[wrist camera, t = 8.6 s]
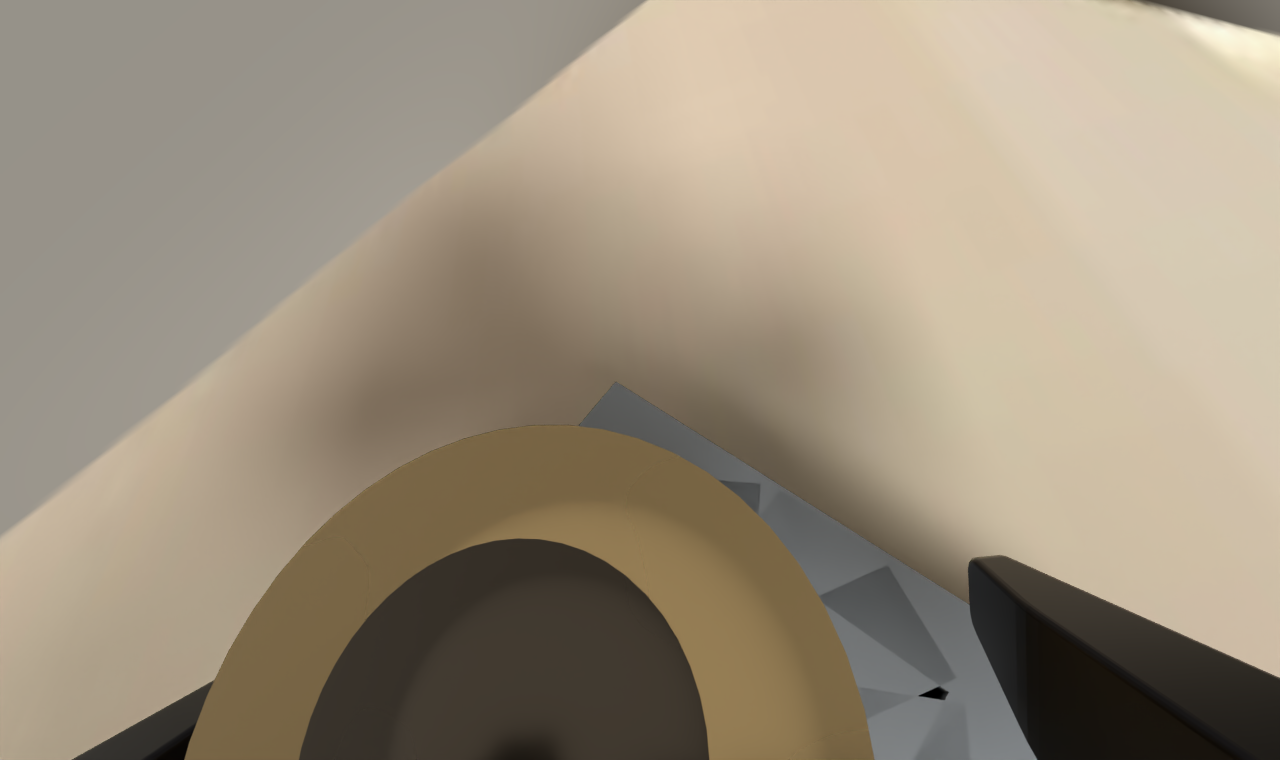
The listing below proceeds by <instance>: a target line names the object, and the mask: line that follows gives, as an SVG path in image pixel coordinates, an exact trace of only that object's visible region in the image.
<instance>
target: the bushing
mask: <svg viewBox="0 0 1280 760" xmlns="http://www.w3.org/2000/svg"><path fill="white" fill-rule="evenodd" d="M184 760H875V759H874V754H873V749H872V744H871V739H870V734H869V729H868V724H867V719H866V714H865V709H864V706H863V703H862V700H861V697H860V694H859V691H858V688H857V685H856V682H855V679H854V675H853V672H852V669H851V666H850V663H849V660H848V657H847V654H846V652H845V650H844V647H843V645H842V643H841V641H840V639H839V636H838V634H837V632H836V630H835V628H834V626H833V623H832V621H831V619H830V617H829V615H828V612H827V610H826V608H825V606H824V604H823V602H822V601H821V599H820V598H819V596H818V594H817V593H816V591H815V589H814V588H813V586H812V584H811V583H810V581H809V579H808V578H807V576H806V575H805V573H804V571H803V570H802V568H801V566H800V565H799V563H798V562H797V561H796V559H795V558H794V557H793V555H792V554H791V553H790V552H789V550H788V549H787V548H786V547H785V545H784V544H783V543H782V541H781V540H780V539H779V538H778V536H777V535H776V534H775V533H774V531H773V530H772V529H771V528H770V526H769V525H768V524H767V523H766V522H765V521H764V520H763V519H762V518H760V517H759V516H758V515H757V514H756V513H755V512H754V511H753V510H752V509H751V508H750V507H749V506H748V505H747V504H746V503H745V502H744V501H743V500H742V499H741V498H740V497H739V496H738V495H737V494H735V493H734V492H733V491H731V490H730V489H729V488H727V487H726V486H725V485H723V484H722V483H721V482H719V481H718V480H717V479H716V478H714V477H713V476H712V475H710V474H709V473H708V472H706V471H705V470H703V469H701V468H699V467H698V466H696V465H694V464H692V463H691V462H689V461H687V460H685V459H684V458H682V457H680V456H678V455H677V454H675V453H673V452H671V451H668V450H666V449H663V448H661V447H658V446H656V445H653V444H651V443H649V442H646V441H644V440H641V439H639V438H635V437H631V436H627V435H624V434H620V433H616V432H612V431H608V430H604V429H597V428H589V427H581V426H573V425H531V426H524V427H516V428H508V429H500V430H496V431H492V432H488V433H484V434H480V435H476V436H472V437H468V438H465V439H462V440H459V441H457V442H454V443H451V444H449V445H446V446H444V447H441V448H438V449H436V450H433V451H431V452H429V453H427V454H425V455H423V456H421V457H419V458H417V459H415V460H413V461H411V462H409V463H407V464H405V465H403V466H401V467H399V468H398V469H396V470H395V471H393V472H391V473H390V474H388V475H387V476H385V477H384V478H382V479H381V480H379V481H378V482H376V483H374V484H373V485H371V486H370V487H368V488H367V489H366V490H364V491H363V492H362V493H361V494H359V495H358V496H357V497H356V498H354V499H353V500H352V501H351V502H349V503H348V504H347V505H346V506H344V507H343V508H342V509H341V510H339V511H338V512H337V513H336V514H335V515H334V516H333V517H332V518H330V519H329V520H328V521H327V522H326V523H325V524H324V525H323V526H322V527H321V528H320V529H319V530H318V531H317V532H316V533H315V534H314V535H313V536H312V537H311V538H310V539H309V540H308V541H307V542H306V543H305V544H304V545H303V546H302V548H301V549H300V550H299V551H298V552H297V553H296V555H295V556H294V557H293V558H292V559H291V560H290V562H289V563H288V564H287V565H286V566H285V567H284V568H283V570H282V571H281V572H280V573H279V574H278V576H277V577H276V579H275V580H274V581H273V583H272V584H271V586H270V587H269V588H268V590H267V591H266V593H265V594H264V595H263V597H262V598H261V600H260V601H259V602H258V604H257V605H256V606H255V608H254V609H253V611H252V612H251V614H250V616H249V617H248V619H247V621H246V623H245V624H244V626H243V628H242V629H241V631H240V633H239V634H238V636H237V638H236V639H235V641H234V643H233V644H232V646H231V648H230V650H229V651H228V653H227V655H226V658H225V660H224V662H223V664H222V666H221V668H220V670H219V672H218V674H217V676H216V678H215V680H214V682H213V685H212V687H211V689H210V691H209V693H208V695H207V697H206V700H205V703H204V705H203V708H202V711H201V713H200V716H199V718H198V721H197V724H196V726H195V729H194V732H193V734H192V737H191V739H190V742H189V745H188V749H187V752H186V756H185V759H184Z"/></svg>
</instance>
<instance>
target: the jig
mask: <svg viewBox="0 0 1280 760" xmlns="http://www.w3.org/2000/svg"><path fill="white" fill-rule="evenodd" d="M579 426H581V427H589V428H597V429H604V430H608V431H612V432H616V433H620V434H624V435H627V436H631V437H635V438H639V439H641V440H644V441H646V442H649V443H651V444H653V445H656V446H658V447H661V448H663V449H666V450H668V451H671V452H673V453H675V454H677V455H678V456H680V457H682V458H684V459H685V460H687V461H689V462H691V463H692V464H694V465H696V466H698V467H699V468H701V469H703V470H705V471H706V472H708V473H709V474H710V475H712V476H713V477H714V478H716V479H717V480H718V481H719V482H721V483H722V484H723V485H725V486H726V487H727V488H729V489H730V490H731V491H733V492H734V493H735V494H737V495H738V496H739V497H740V498H741V499H742V500H743V501H744V502H745V503H746V504H747V505H748V506H749V507H750V508H751V509H752V510H753V511H754V512H755V513H756V514H757V515H758V516H759V517H760V518H762V519H763V520H764V521H765V522H766V523H767V524H768V525H769V526H770V528H771V529H772V530H773V531H774V533H775V534H776V535H777V536H778V538H779V539H780V540H781V541H782V543H783V544H784V545H785V547H786V548H787V549H788V550H789V552H790V553H791V554H792V555H793V557H794V558H795V559H796V561H797V562H798V563H799V565H800V566H801V568H802V570H803V571H804V573H805V575H806V576H807V578H808V579H809V581H810V583H811V584H812V586H813V588H814V589H815V591H816V593H817V594H818V596H819V598H820V599H821V601H822V602H823V604H824V606H825V608H826V610H827V612H828V615H829V617H830V619H831V621H832V623H833V626H834V628H835V630H836V632H837V634H838V636H839V639H840V641H841V643H842V645H843V647H844V650H845V652H846V654H847V657H848V660H849V663H850V666H851V669H852V672H853V675H854V679H855V682H856V685H857V688H858V691H859V694H860V697H861V700H862V703H863V706H864V709H865V714H866V719H867V724H868V729H869V734H870V739H871V744H872V749H873V754H874V759H875V760H1037V759H1036V757H1035V755H1034V753H1033V751H1032V750H1031V748H1030V746H1029V744H1028V743H1027V741H1026V738H1025V736H1024V734H1023V732H1022V730H1021V728H1020V726H1019V724H1018V722H1017V720H1016V718H1015V716H1014V714H1013V711H1012V709H1011V707H1010V705H1009V703H1008V701H1007V699H1006V696H1005V694H1004V692H1003V690H1002V688H1001V686H1000V683H999V681H998V679H997V677H996V675H995V673H994V671H993V668H992V666H991V664H990V662H989V660H988V658H987V656H986V653H985V651H984V649H983V647H982V645H981V643H980V641H979V638H978V636H977V634H976V632H975V630H974V627H973V624H972V620H971V615H970V605H969V604H967V603H966V602H964V601H963V600H961V599H959V598H958V597H956V596H955V595H953V594H952V593H950V592H948V591H947V590H945V589H944V588H942V587H940V586H939V585H937V584H936V583H934V582H933V581H931V580H929V579H928V578H926V577H925V576H923V575H921V574H920V573H918V572H917V571H915V570H914V569H912V568H910V567H909V566H907V565H906V564H904V563H902V562H901V561H899V560H898V559H896V558H895V557H893V556H891V555H890V554H888V553H887V552H885V551H883V550H882V549H880V548H879V547H877V546H875V545H874V544H872V543H871V542H869V541H868V540H866V539H864V538H863V537H861V536H860V535H858V534H856V533H855V532H853V531H852V530H850V529H849V528H847V527H845V526H844V525H842V524H841V523H839V522H837V521H836V520H834V519H833V518H831V517H830V516H828V515H826V514H825V513H823V512H822V511H820V510H818V509H817V508H815V507H814V506H812V505H811V504H809V503H807V502H806V501H804V500H803V499H801V498H799V497H798V496H796V495H795V494H793V493H792V492H790V491H788V490H787V489H785V488H784V487H782V486H780V485H779V484H777V483H776V482H774V481H773V480H771V479H769V478H768V477H766V476H765V475H763V474H761V473H760V472H758V471H757V470H755V469H754V468H752V467H750V466H749V465H747V464H746V463H744V462H742V461H741V460H739V459H738V458H736V457H735V456H733V455H731V454H730V453H728V452H727V451H725V450H723V449H722V448H720V447H719V446H717V445H716V444H714V443H712V442H711V441H709V440H708V439H706V438H704V437H703V436H701V435H700V434H698V433H697V432H695V431H693V430H692V429H690V428H689V427H687V426H685V425H684V424H682V423H681V422H679V421H678V420H676V419H674V418H673V417H671V416H670V415H668V414H666V413H665V412H663V411H662V410H660V409H659V408H657V407H655V406H654V405H652V404H651V403H649V402H647V401H646V400H644V399H643V398H641V397H640V396H638V395H636V394H635V393H633V392H632V391H630V390H628V389H627V388H625V387H624V386H622V385H620V384H619V383H617V382H615V383H614V384H613V386H612V387H611V388H610V389H609V390H608V392H607V393H606V394H605V395H604V396H603V397H602V399H601V400H600V401H599V402H598V403H597V405H596V406H595V407H594V408H593V409H592V410H591V412H590V413H589V414H588V415H587V416H586V418H585V419H584V420H583V421H582V422H581V423H580V425H579Z"/></svg>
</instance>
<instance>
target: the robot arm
mask: <svg viewBox="0 0 1280 760" xmlns="http://www.w3.org/2000/svg"><path fill="white" fill-rule="evenodd" d="M968 578H969V601H970V615H971V620H972V624H973V627H974V630H975V632H976V634H977V636H978V638H979V641H980V643H981V645H982V647H983V649H984V651H985V653H986V656H987V658H988V660H989V662H990V664H991V666H992V668H993V671H994V673H995V675H996V677H997V679H998V681H999V683H1000V686H1001V688H1002V690H1003V692H1004V694H1005V696H1006V699H1007V701H1008V703H1009V705H1010V707H1011V709H1012V711H1013V714H1014V716H1015V718H1016V720H1017V722H1018V724H1019V726H1020V728H1021V730H1022V732H1023V734H1024V736H1025V738H1026V741H1027V743H1028V744H1029V746H1030V748H1031V750H1032V751H1033V753H1034V755H1035V757H1036V759H1037V760H1280V678H1279V677H1276V676H1274V675H1272V674H1270V673H1267V672H1265V671H1263V670H1261V669H1258V668H1256V667H1254V666H1252V665H1249V664H1247V663H1245V662H1243V661H1240V660H1238V659H1236V658H1234V657H1231V656H1229V655H1227V654H1225V653H1222V652H1220V651H1218V650H1216V649H1214V648H1211V647H1209V646H1207V645H1205V644H1202V643H1200V642H1198V641H1196V640H1193V639H1191V638H1189V637H1187V636H1184V635H1182V634H1180V633H1178V632H1175V631H1173V630H1171V629H1169V628H1166V627H1164V626H1162V625H1160V624H1157V623H1155V622H1153V621H1151V620H1148V619H1146V618H1144V617H1142V616H1139V615H1137V614H1135V613H1133V612H1130V611H1128V610H1126V609H1124V608H1121V607H1119V606H1117V605H1115V604H1112V603H1110V602H1108V601H1106V600H1103V599H1101V598H1099V597H1097V596H1094V595H1092V594H1090V593H1088V592H1085V591H1083V590H1081V589H1079V588H1076V587H1074V586H1072V585H1070V584H1067V583H1065V582H1063V581H1061V580H1058V579H1056V578H1054V577H1052V576H1049V575H1047V574H1045V573H1043V572H1040V571H1038V570H1036V569H1034V568H1031V567H1029V566H1027V565H1025V564H1022V563H1020V562H1018V561H1016V560H1013V559H1011V558H1009V557H1006V556H1002V555H996V556H986V557H977V558H973V559H972V560H971V561H970V562H969V566H968ZM213 682H214V681H212V682H210V683H208V684H207V685H205V686H203V687H201V688H199V689H198V690H196V691H194V692H192V693H190V694H189V695H187V696H185V697H183V698H182V699H180V700H178V701H176V702H174V703H173V704H171V705H169V706H167V707H165V708H164V709H162V710H160V711H158V712H156V713H155V714H153V715H151V716H149V717H147V718H146V719H144V720H142V721H140V722H138V723H137V724H135V725H133V726H131V727H129V728H128V729H126V730H124V731H122V732H120V733H119V734H117V735H115V736H113V737H112V738H110V739H108V740H106V741H104V742H103V743H101V744H99V745H97V746H95V747H94V748H92V749H90V750H88V751H86V752H85V753H83V754H81V755H79V756H77V757H76V758H74V759H72V760H184V759H185V756H186V752H187V749H188V745H189V742H190V739H191V737H192V734H193V732H194V729H195V726H196V724H197V721H198V718H199V716H200V713H201V711H202V708H203V705H204V703H205V700H206V697H207V695H208V693H209V691H210V689H211V687H212V685H213Z"/></svg>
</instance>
